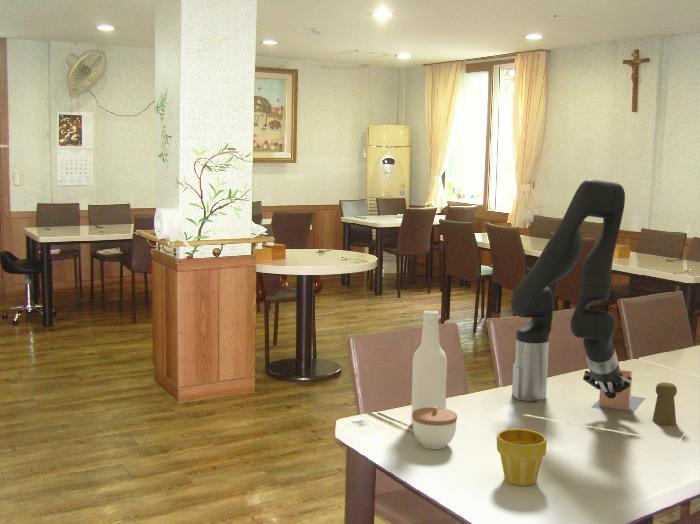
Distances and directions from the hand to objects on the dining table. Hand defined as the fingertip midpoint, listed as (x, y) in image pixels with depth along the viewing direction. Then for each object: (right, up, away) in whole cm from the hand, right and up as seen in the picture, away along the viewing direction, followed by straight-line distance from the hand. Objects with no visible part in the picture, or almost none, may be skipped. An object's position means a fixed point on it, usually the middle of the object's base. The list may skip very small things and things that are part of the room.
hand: (611, 395), depth 215 cm
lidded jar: (-52, -8, -27) cm, 59 cm away
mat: (+5, -4, +9) cm, 11 cm away
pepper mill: (+11, -6, -8) cm, 15 cm away
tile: (+2, -4, +4) cm, 6 cm away
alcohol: (-52, -6, -12) cm, 53 cm away
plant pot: (-36, -10, -47) cm, 60 cm away
